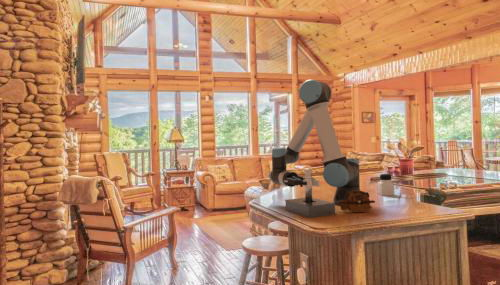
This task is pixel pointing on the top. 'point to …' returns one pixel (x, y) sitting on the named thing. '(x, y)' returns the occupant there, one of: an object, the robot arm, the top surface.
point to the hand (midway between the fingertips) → (315, 183)
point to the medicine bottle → (385, 185)
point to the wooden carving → (356, 201)
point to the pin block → (310, 207)
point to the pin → (307, 189)
